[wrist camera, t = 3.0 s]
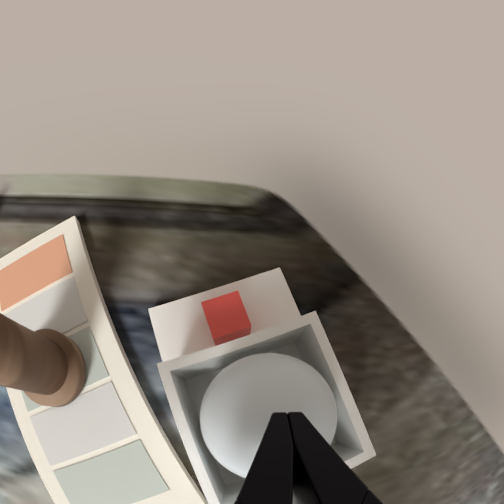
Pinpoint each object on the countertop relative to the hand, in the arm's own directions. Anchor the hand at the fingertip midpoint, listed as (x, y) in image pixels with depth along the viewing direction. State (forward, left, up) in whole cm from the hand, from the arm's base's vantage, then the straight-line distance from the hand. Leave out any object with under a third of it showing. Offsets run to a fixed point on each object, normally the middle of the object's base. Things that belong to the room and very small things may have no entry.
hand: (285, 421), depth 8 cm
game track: (+6, +12, -11) cm, 17 cm away
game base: (+1, 0, -11) cm, 11 cm away
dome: (0, 0, -8) cm, 8 cm away
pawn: (+6, +12, -10) cm, 17 cm away
